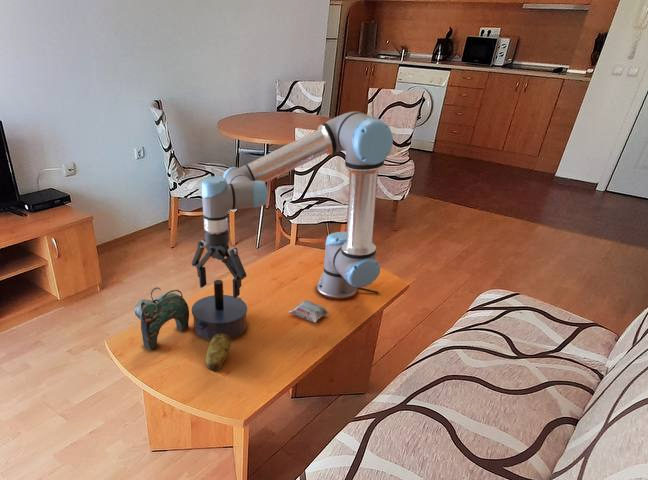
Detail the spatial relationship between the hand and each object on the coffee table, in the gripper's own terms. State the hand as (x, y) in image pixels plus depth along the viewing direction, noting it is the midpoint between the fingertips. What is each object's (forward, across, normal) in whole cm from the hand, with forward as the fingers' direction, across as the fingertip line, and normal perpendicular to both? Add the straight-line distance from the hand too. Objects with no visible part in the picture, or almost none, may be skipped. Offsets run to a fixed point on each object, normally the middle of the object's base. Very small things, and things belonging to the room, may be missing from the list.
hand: (219, 291), depth 167 cm
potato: (+14, -11, +17) cm, 25 cm away
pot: (+14, 0, 0) cm, 14 cm away
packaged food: (+15, -23, -22) cm, 35 cm away
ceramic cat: (+14, +12, +16) cm, 24 cm away
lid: (+7, 0, 0) cm, 7 cm away
